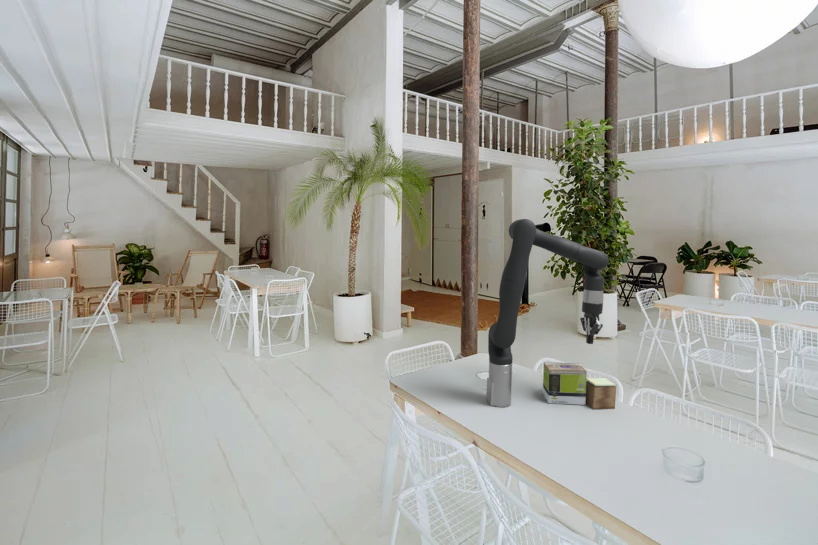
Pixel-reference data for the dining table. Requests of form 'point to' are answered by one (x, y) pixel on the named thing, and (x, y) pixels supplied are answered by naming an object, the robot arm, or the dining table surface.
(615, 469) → the dining table surface
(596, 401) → the chest
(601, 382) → the lid
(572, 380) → the tea box
